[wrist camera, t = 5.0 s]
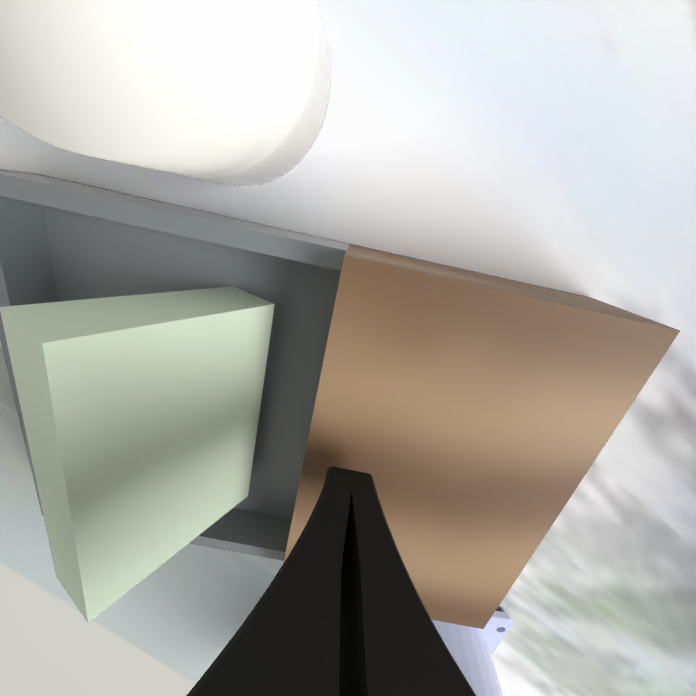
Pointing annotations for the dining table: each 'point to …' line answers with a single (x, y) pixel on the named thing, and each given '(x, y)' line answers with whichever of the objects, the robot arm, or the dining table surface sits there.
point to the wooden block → (468, 414)
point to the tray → (179, 275)
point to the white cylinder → (169, 82)
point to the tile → (137, 424)
